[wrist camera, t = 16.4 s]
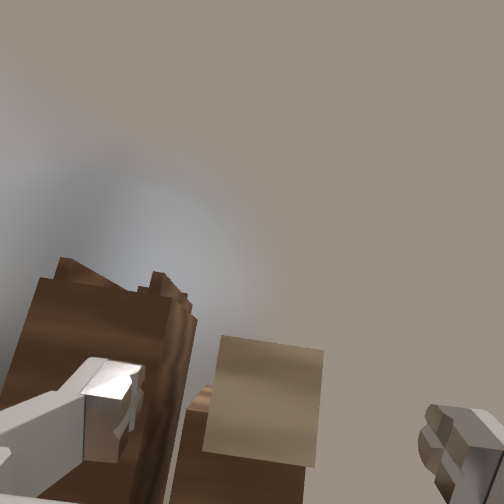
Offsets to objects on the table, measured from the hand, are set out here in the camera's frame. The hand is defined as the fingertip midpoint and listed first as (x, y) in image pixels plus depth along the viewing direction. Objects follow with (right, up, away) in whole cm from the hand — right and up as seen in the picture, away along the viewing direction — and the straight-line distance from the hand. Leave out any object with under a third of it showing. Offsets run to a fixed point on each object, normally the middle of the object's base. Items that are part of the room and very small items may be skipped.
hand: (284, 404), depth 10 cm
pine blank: (-1, -6, +13) cm, 14 cm away
